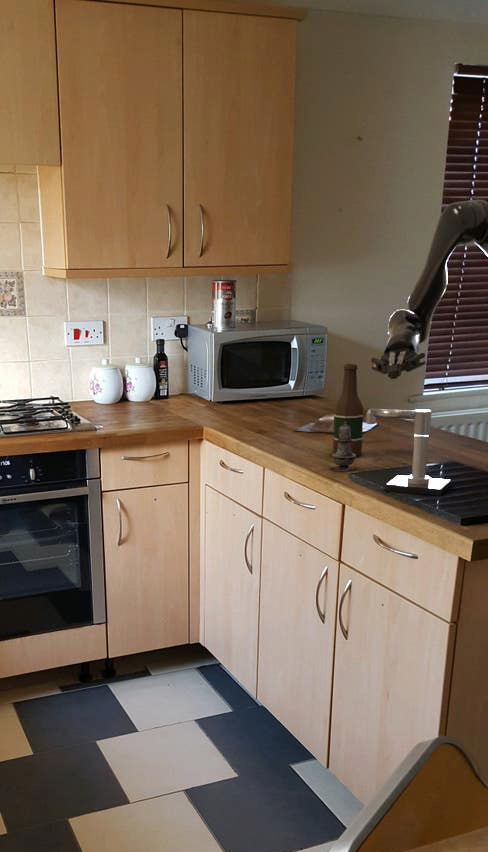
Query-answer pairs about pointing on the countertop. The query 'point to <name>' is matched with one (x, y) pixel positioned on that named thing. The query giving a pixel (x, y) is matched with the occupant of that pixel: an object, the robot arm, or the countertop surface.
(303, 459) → the countertop surface
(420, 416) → the spout
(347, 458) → the grey figurine
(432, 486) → the faucet base
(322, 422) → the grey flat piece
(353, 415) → the beer bottle
